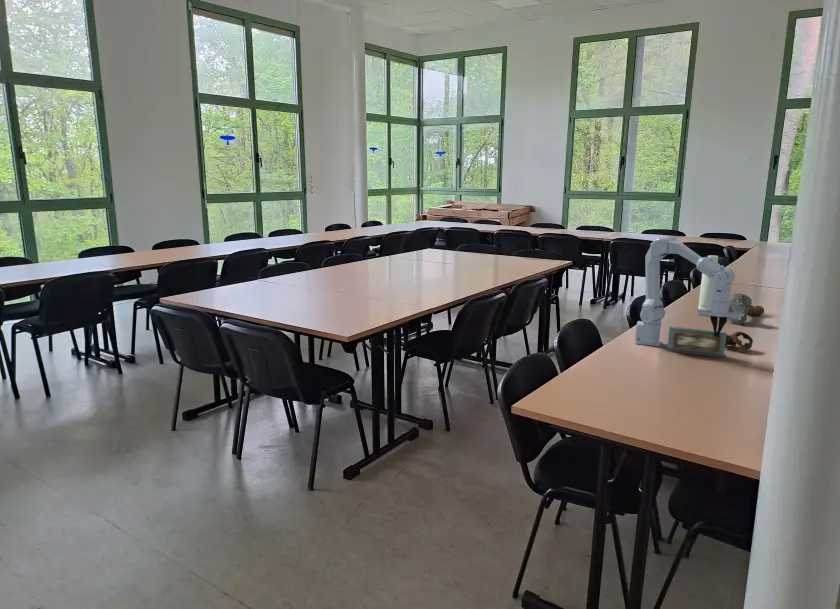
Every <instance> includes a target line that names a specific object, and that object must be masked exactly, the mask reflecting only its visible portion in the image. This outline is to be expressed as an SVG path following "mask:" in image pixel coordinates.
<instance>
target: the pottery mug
mask: <svg viewBox="0 0 840 609" xmlns="http://www.w3.org/2000/svg"><path fill="white" fill-rule="evenodd" d="M740 336H742V338H743V339H746V340H748V342H745V343H744V344H743V341H742V340H741V339H739V337H740ZM753 343H754V340H753V338H752V337H751V335H749V334H748V333H745V332H742V331H735V332H734V333H731V334H727V335H726V343H725V348H727V346H732V347H736V346H738V347H739V348H738V349H737V352H738V353H740V354H741V353H743V352H744V351H748V350H750V349H752V347H753Z"/></svg>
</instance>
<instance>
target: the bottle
mask: <svg viewBox="0 0 840 609" xmlns="http://www.w3.org/2000/svg"><path fill="white" fill-rule="evenodd" d="M707 257H708V258H710V257H711V258H713V261H714V262H716V263H717V264H719V265H720V263H719V262H718V261H719V255H713V254H712V255H711V254H710V255H707ZM720 266H721V265H720ZM713 290H714V283H713V281H712V279H711V278H709V277H708V276H706V275H705V274H703V273H702V272H701V281H700V291H699V300H698V307H697V308H698V310H701V309H702V310H701V311H707V310H709V311H711V306H712V298H713Z"/></svg>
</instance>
